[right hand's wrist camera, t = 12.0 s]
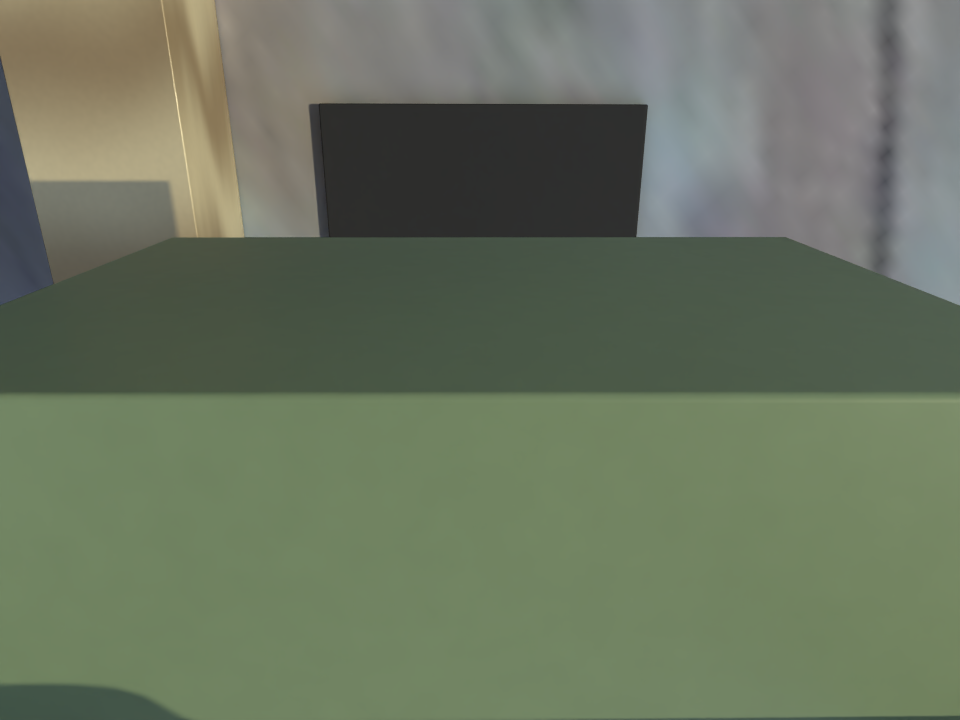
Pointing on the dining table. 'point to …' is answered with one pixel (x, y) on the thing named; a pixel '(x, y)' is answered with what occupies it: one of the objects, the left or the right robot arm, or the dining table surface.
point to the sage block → (479, 484)
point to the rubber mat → (483, 169)
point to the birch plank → (120, 124)
